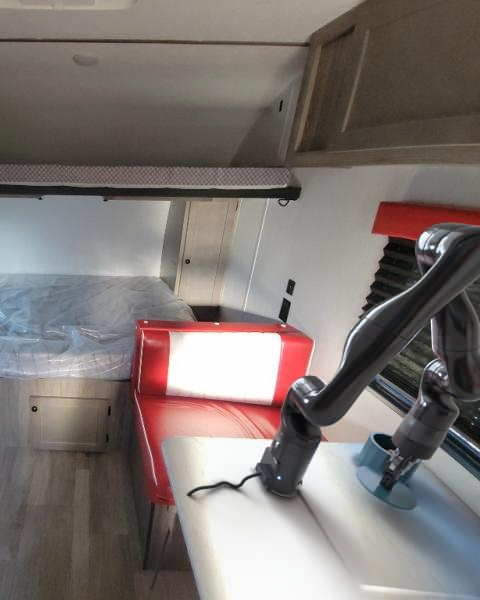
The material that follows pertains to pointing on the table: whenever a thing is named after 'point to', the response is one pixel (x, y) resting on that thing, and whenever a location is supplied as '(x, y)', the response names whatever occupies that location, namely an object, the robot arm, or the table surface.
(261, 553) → the table surface
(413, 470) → the pot
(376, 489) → the lid
